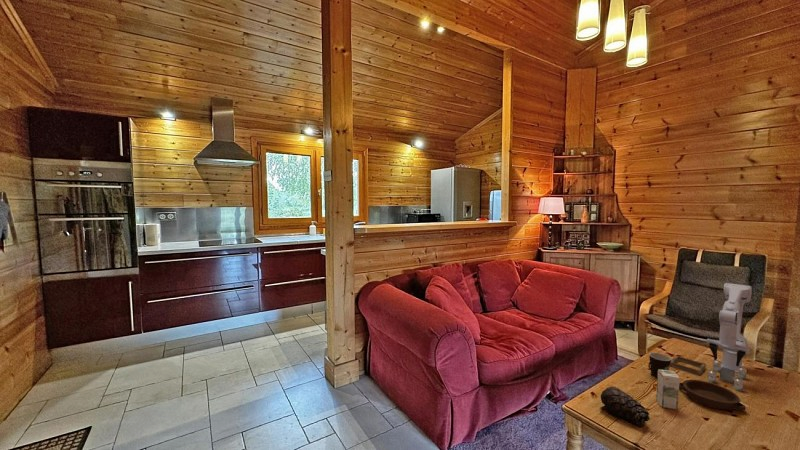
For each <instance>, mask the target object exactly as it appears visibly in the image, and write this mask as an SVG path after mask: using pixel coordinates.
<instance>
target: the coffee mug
mask: <svg viewBox="0 0 800 450" xmlns="http://www.w3.org/2000/svg"><path fill="white" fill-rule="evenodd" d="M648 356H649V357H648V358H649V362H648V369H649V370H650V375H651V376H652V377H653V376H654V378H655V379H657V378H658V369H660V370H668V371H670V362H671V360H672V358H671V357H670V356H668V355H666V354H663V353H659V352H650V353H649V354H648Z"/></svg>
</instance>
